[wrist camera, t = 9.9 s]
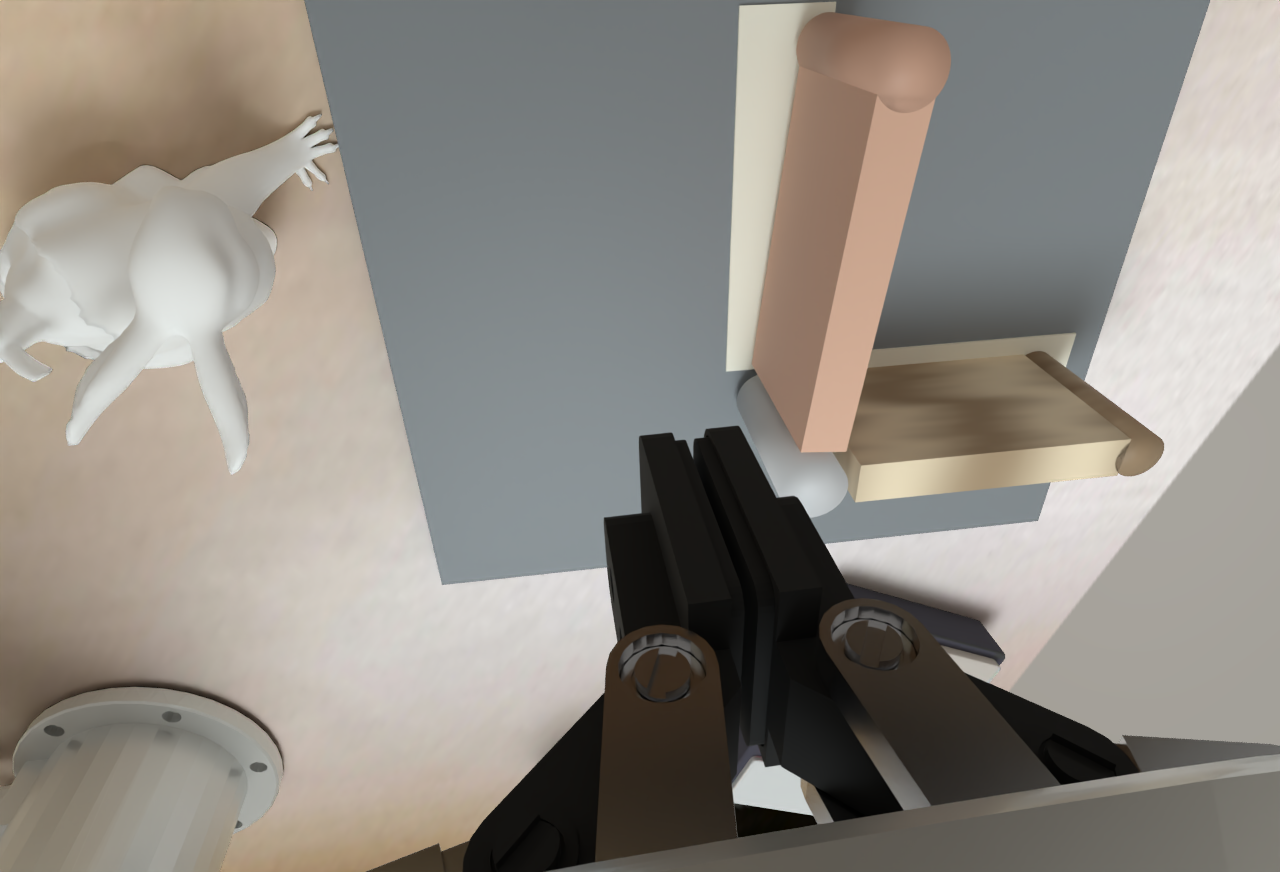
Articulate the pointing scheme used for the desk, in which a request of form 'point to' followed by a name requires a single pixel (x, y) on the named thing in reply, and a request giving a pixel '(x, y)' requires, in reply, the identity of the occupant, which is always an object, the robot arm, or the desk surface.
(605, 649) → the desk surface
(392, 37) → the mat
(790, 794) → the calculator
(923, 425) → the panel
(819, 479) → the fence swing panel
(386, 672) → the desk surface
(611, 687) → the robot arm
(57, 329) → the rabbit figurine
